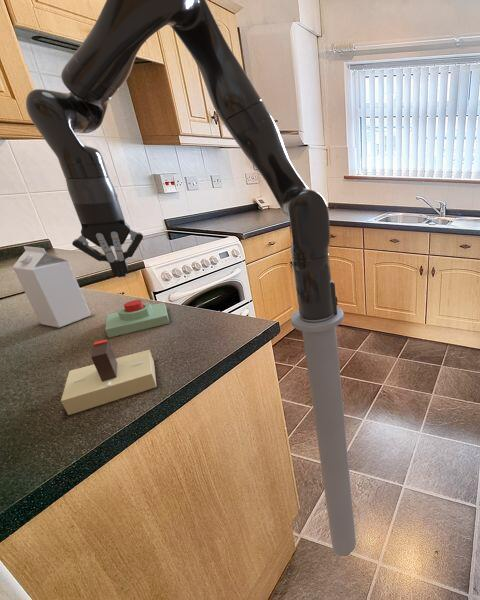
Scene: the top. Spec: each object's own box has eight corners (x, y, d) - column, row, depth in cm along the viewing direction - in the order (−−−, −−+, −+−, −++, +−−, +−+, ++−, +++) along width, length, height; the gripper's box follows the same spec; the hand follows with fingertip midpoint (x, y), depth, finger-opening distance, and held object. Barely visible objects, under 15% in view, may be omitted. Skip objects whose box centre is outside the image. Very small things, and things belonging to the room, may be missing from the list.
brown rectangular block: (116, 377, 59) (105, 351, 57) (101, 381, 58) (90, 355, 55) (117, 362, 63) (107, 338, 61) (103, 366, 62) (93, 342, 60)
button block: (166, 309, 91) (162, 296, 90) (169, 323, 84) (164, 308, 82) (110, 321, 85) (104, 307, 83) (108, 337, 77) (102, 322, 76)
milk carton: (73, 312, 90) (42, 242, 82) (91, 315, 88) (61, 244, 80) (40, 324, 84) (3, 250, 76) (59, 328, 82) (23, 252, 74)
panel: (153, 361, 68) (149, 348, 67) (156, 387, 61) (151, 372, 60) (75, 384, 62) (68, 370, 61) (68, 415, 54) (60, 400, 53)
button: (143, 305, 85) (141, 298, 84) (144, 310, 82) (142, 303, 82) (126, 308, 83) (123, 302, 82) (125, 314, 80) (123, 307, 80)
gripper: (50, 204, 66) (83, 286, 73) (133, 199, 73) (157, 274, 80) (56, 200, 71) (87, 277, 78) (133, 196, 78) (155, 266, 85)
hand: (122, 275), depth 79 cm, fingers closed
